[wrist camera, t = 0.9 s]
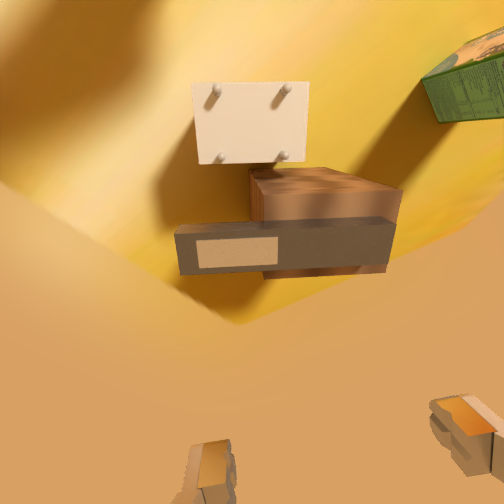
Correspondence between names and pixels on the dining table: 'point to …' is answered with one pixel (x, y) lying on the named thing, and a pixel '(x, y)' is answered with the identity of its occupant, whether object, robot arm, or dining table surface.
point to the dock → (250, 121)
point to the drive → (283, 244)
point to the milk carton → (470, 81)
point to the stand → (319, 205)
